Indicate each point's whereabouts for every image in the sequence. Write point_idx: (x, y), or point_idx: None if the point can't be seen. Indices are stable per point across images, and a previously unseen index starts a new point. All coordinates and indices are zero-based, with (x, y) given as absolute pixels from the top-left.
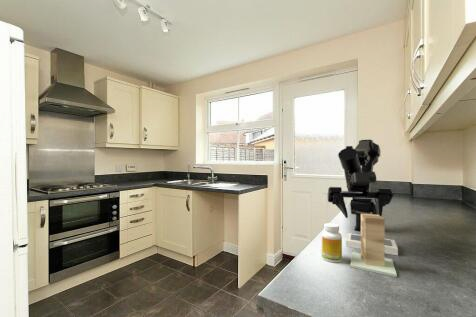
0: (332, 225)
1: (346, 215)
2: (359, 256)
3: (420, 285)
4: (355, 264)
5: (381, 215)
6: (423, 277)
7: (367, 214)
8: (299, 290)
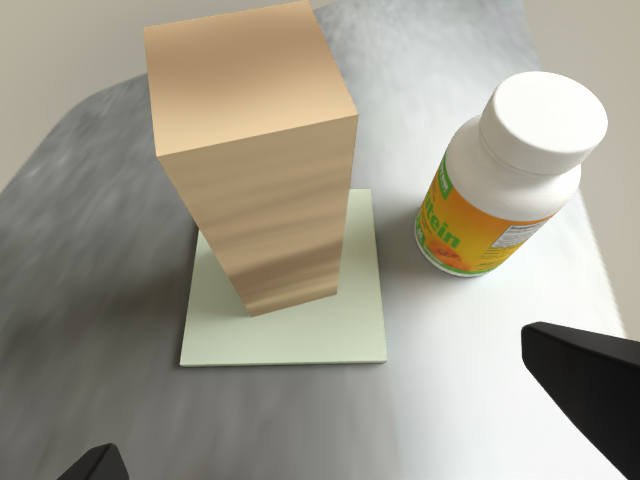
0: (537, 99)
1: (544, 323)
2: (343, 309)
3: (144, 176)
4: (352, 203)
5: (59, 477)
6: (102, 246)
7: (285, 112)
8: (459, 15)
